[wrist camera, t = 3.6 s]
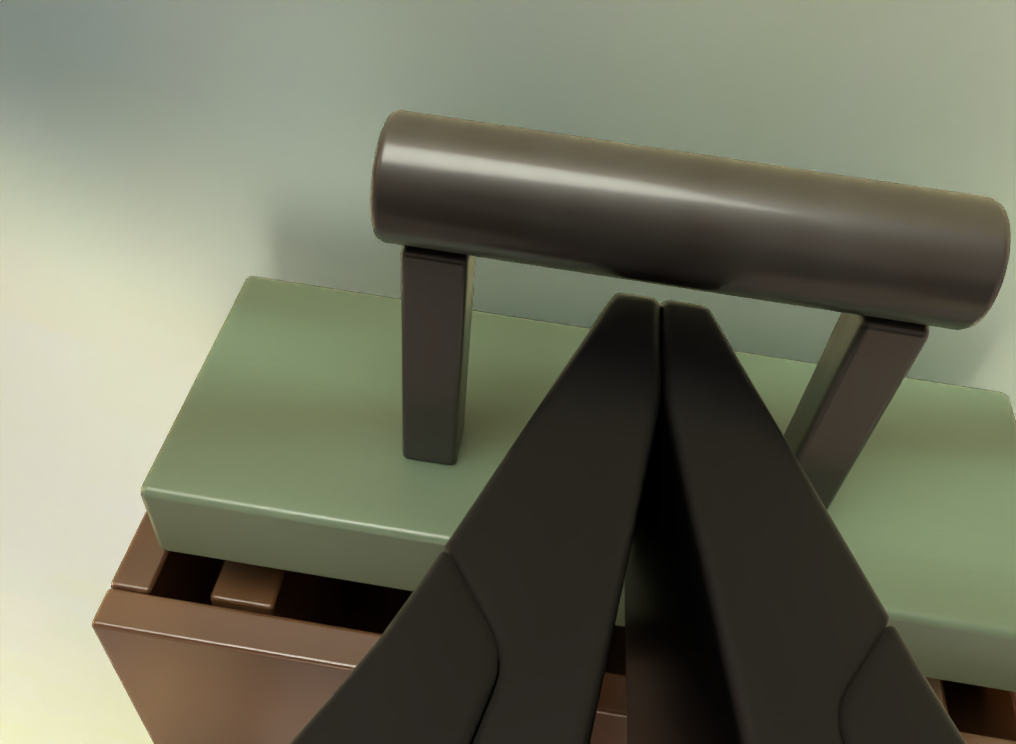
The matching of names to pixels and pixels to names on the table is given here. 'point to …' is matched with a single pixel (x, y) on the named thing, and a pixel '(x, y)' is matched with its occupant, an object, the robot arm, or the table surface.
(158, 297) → the table surface
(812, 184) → the drawer
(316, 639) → the box
